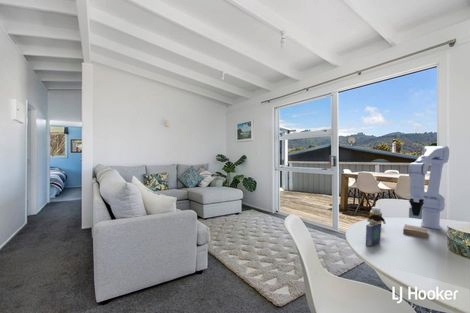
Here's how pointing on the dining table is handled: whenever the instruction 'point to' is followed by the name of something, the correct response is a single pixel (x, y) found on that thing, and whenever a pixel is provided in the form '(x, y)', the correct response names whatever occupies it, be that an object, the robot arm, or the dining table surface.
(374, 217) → the grandmother figurine
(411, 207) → the slate cube
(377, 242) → the flask
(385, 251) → the dining table surface
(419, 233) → the walnut block
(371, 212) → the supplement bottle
